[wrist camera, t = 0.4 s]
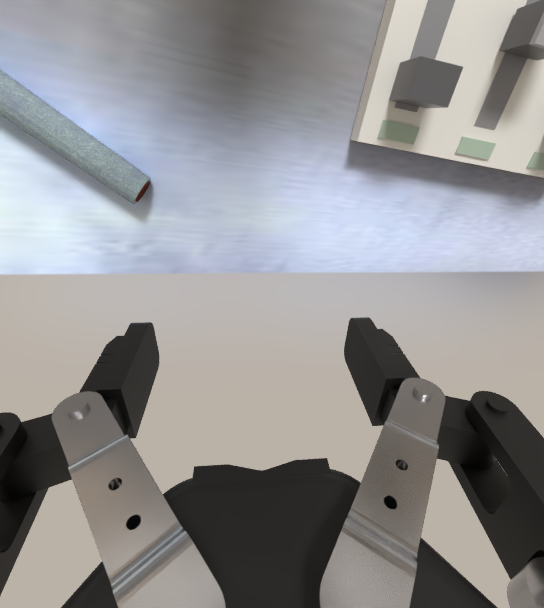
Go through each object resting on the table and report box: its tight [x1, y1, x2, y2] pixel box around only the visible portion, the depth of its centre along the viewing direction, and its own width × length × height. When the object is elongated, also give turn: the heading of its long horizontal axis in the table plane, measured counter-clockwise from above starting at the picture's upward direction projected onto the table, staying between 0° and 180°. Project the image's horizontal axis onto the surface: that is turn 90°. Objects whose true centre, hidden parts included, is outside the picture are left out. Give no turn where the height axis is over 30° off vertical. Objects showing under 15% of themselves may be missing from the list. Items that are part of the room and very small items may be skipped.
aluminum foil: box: [0, 70, 150, 204], centre depth 31 cm, size 23×7×3 cm, turn 51°
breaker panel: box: [350, 0, 544, 178], centre depth 29 cm, size 22×26×6 cm
